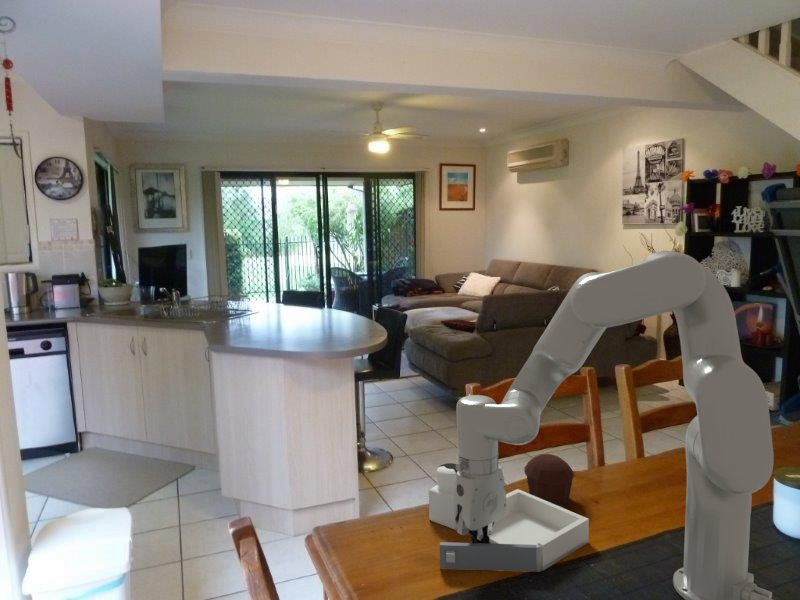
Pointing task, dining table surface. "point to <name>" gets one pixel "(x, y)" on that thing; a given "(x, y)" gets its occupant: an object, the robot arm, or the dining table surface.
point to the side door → (490, 556)
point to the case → (540, 527)
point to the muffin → (549, 478)
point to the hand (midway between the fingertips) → (480, 555)
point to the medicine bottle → (443, 497)
